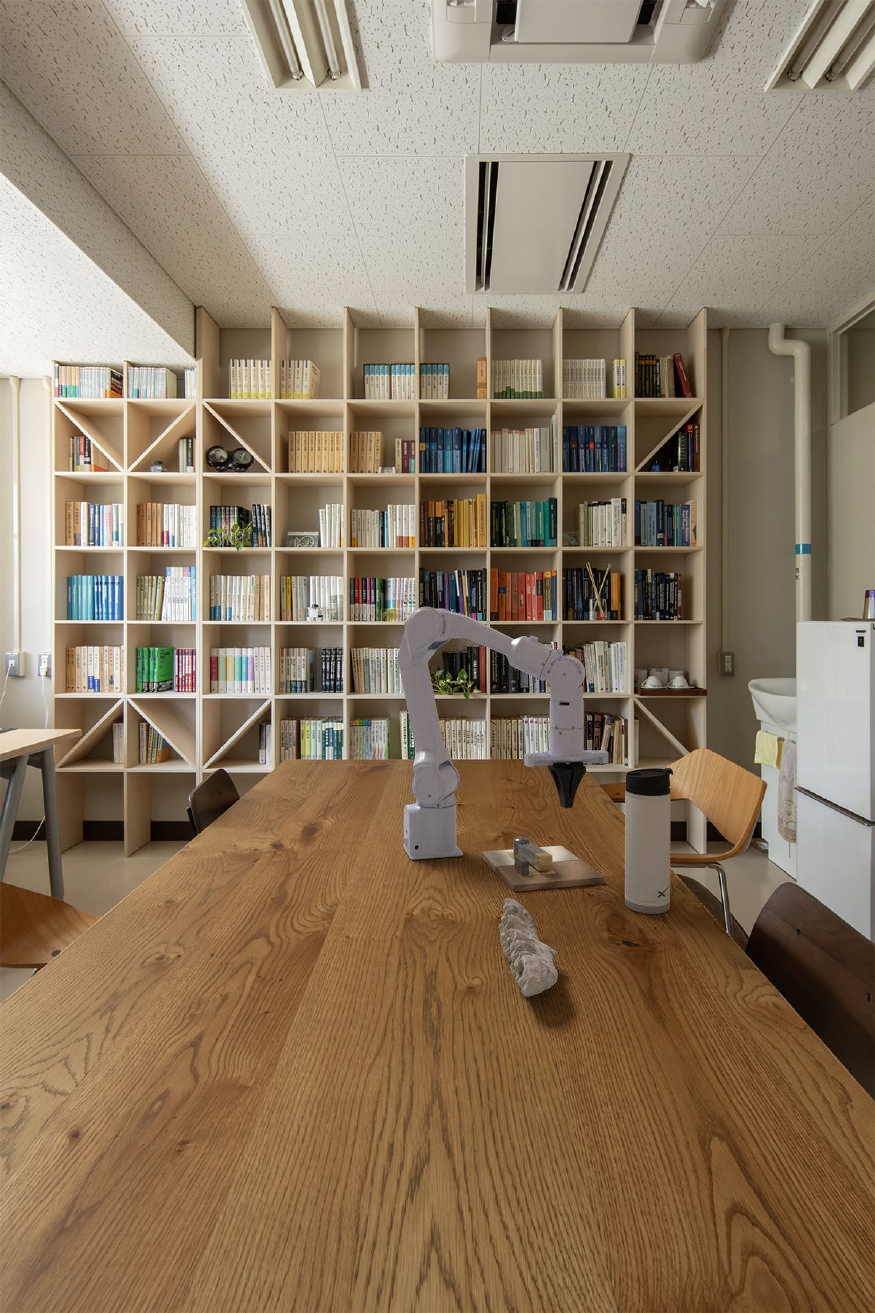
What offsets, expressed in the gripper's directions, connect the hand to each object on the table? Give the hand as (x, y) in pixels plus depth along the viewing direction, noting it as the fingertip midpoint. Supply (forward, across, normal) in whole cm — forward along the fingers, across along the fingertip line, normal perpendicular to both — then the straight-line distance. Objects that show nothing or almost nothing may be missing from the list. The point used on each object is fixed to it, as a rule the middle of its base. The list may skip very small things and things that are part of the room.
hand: (566, 806), depth 119 cm
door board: (+10, -6, -2) cm, 11 cm away
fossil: (+10, -19, -34) cm, 40 cm away
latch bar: (+9, -7, -1) cm, 11 cm away
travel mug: (+10, +4, -20) cm, 23 cm away
